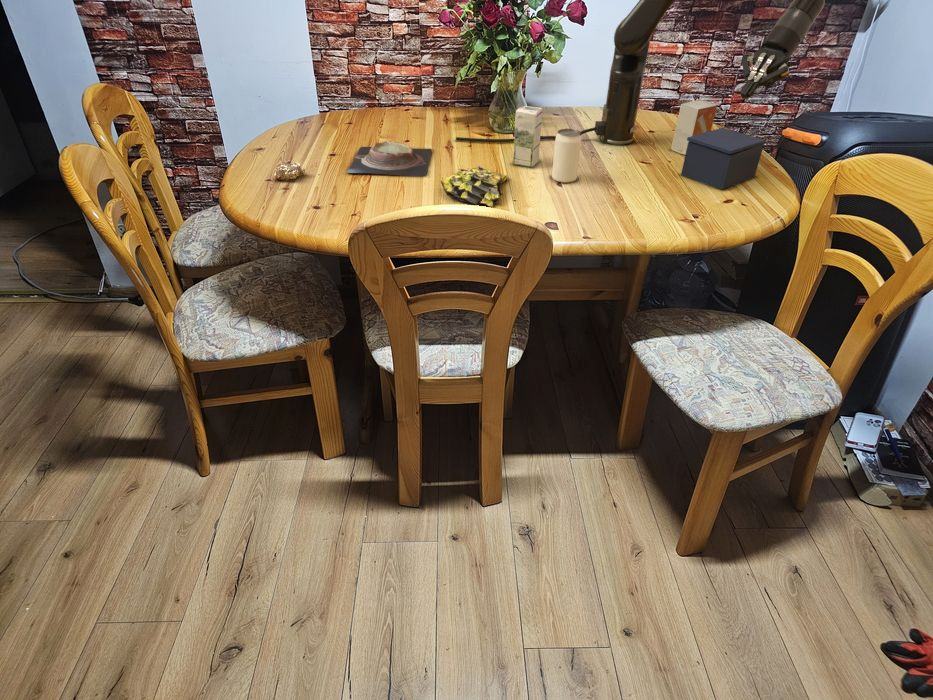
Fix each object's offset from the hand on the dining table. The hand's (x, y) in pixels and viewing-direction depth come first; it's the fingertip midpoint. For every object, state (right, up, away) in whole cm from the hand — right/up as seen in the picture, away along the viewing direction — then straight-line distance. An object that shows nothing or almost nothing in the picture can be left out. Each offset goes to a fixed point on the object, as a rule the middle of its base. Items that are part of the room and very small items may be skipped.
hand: (743, 96), depth 155 cm
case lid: (-3, -10, +3) cm, 11 cm away
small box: (-5, -6, +24) cm, 25 cm away
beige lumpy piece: (-115, -19, +6) cm, 117 cm away
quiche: (-90, -12, +16) cm, 92 cm away
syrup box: (-53, -12, +15) cm, 57 cm away
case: (-3, -17, +9) cm, 20 cm away
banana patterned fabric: (-66, -23, +1) cm, 70 cm away
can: (-44, -19, +7) cm, 48 cm away
